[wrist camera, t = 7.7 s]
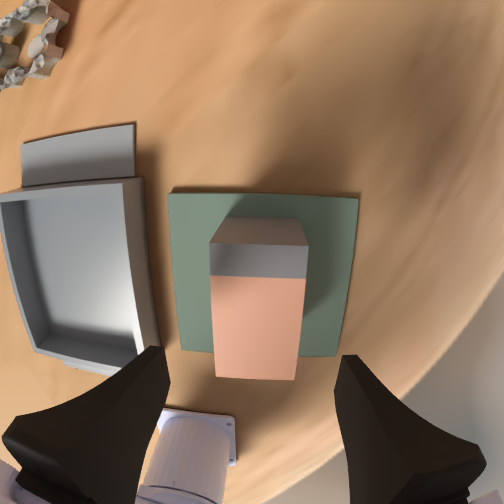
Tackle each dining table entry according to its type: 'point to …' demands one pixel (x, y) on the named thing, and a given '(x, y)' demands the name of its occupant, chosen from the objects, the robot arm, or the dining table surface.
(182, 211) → the mat
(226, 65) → the dining table surface
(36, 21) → the egg carton
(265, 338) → the block
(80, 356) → the grey tray
